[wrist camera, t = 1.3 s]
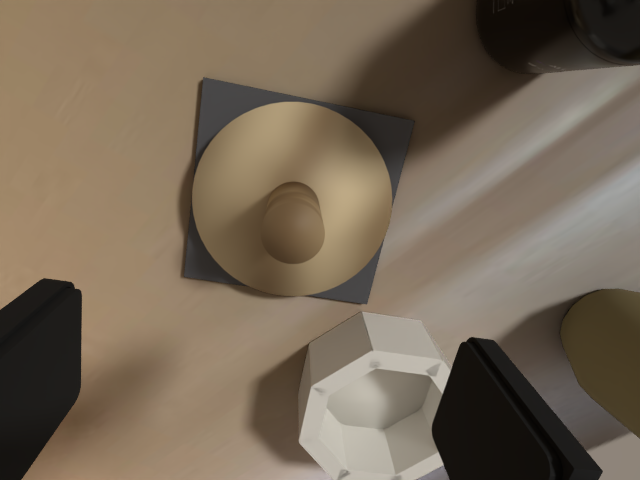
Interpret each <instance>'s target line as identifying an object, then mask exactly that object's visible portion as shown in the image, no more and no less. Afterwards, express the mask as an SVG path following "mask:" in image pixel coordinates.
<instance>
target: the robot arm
mask: <svg viewBox="0 0 640 480" xmlns="http://www.w3.org/2000/svg"><path fill="white" fill-rule="evenodd" d="M81 321H82V294H81V291H80V290H79V289H75V287H74V284H73V283H72V282H68V281H60V280H53V279H45V278H44V279H42V280H40V281H38V282H37V283H36V284H34V285H33V286H32V287H30V288H29V289H28V290H26V291H25V292H24V293H22V294H21V295H20V296H18V297H17V298H16V299H14V300H13V301H12V302H10V303H9V304H8V305H6V306H5V307H4V308H2V309H1V310H0V480H21V479H22V478H23V476H24V475H25V474H26V472H27V471H28V469H29V468H30V466H31V465H32V464H33V462H34V461H35V459H36V458H37V456H38V455H39V453H40V452H41V451H42V449H43V448H44V446H45V445H46V443H47V442H48V441H49V439H50V438H51V436H52V435H53V433H54V432H55V430H56V429H57V428H58V426H59V425H60V423H61V422H62V420H63V419H64V418H65V416H66V415H67V413H68V412H69V410H70V409H71V407H72V406H73V405H74V403H75V401H76V400H77V398H78V395H79V392H80V388H81ZM432 437H433V440H434V443H435V445H436V447H437V450H438V452H439V455H440V457H441V459H442V462H443V464H444V467H445V469H446V471H447V474H448V476H449V479H450V480H598V479H599V478H600V476H601V474H602V472H603V471H602V470H601V469H600V467H599V466H598V465H597V464H596V462H595V461H594V460H593V459H592V458H591V456H590V455H589V454H588V453H587V452H586V450H585V449H584V448H583V447H582V446H581V444H580V443H579V442H578V441H577V440H576V438H575V437H574V436H573V435H572V434H571V432H570V431H569V430H568V429H567V428H566V426H565V425H564V424H563V423H562V421H561V420H560V419H559V418H558V417H557V415H556V414H555V413H554V412H553V411H552V409H551V408H550V407H549V406H548V405H547V403H546V402H545V401H544V400H543V399H542V397H541V396H540V395H539V394H538V393H537V391H536V390H535V389H534V388H533V387H532V385H531V384H530V383H529V382H528V381H527V379H526V378H525V377H524V376H523V374H522V373H521V372H520V371H519V370H518V368H517V367H516V366H515V365H514V364H513V362H512V361H511V360H510V359H509V358H508V356H507V355H506V354H505V353H504V352H503V350H502V349H501V348H500V347H499V346H498V344H497V343H496V342H495V341H494V340H489V339H481V338H474V337H471V338H469V339H468V340H467V341H466V342H462V343H461V344H460V346H459V349H458V352H457V355H456V357H455V360H454V363H453V366H452V369H451V372H450V374H449V377H448V380H447V383H446V386H445V389H444V391H443V394H442V397H441V400H440V403H439V406H438V408H437V411H436V414H435V417H434V420H433V423H432Z"/></svg>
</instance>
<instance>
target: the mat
mask: <svg viewBox="0 0 640 480" xmlns="http://www.w3.org/2000/svg"><path fill="white" fill-rule="evenodd" d="M279 102H304V103H311V104H315V105H318V106H322V107H325V108H328V109H330V110H332V111H335V112H337V113H339V114H341V115H342V116H344V117H346V118H347V119H349V120H350V121H352V122H353V123H354V124H355V125H357V126H358V127H359V128H360V129H361V130H362V131H363V132H364V133H365V134H366V135H367V136H368V137H369V138H370V139H371V141H372V142H373V143H374V145H375V146H376V148H377V149H378V151H379V152H380V154H381V156H382V158H383V160H384V162H385V165H386V168H387V171H388V173H389V178H390V182H391V188H392V206H393V202H394V198H395V195H396V191H397V187H398V183H399V179H400V175H401V172H402V168H403V164H404V160H405V156H406V152H407V149H408V145H409V141H410V137H411V133H412V129H413V125H414V122H415V121H412V120H408V119H403V118H398V117H393V116H388V115H383V114H379V113H374V112H369V111H364V110H359V109H354V108H349V107H345V106H340V105H335V104H330V103H325V102H320V101H316V100H311V99H306V98H301V97H296V96H291V95H286V94H282V93H277V92H272V91H267V90H262V89H257V88H253V87H248V86H243V85H238V84H233V83H228V82H223V81H219V80H214V79H209V78H204V77H203V86H202V97H201V107H200V117H199V128H198V138H197V148H196V159H195V169H194V177H195V173H196V170H197V167H198V164H199V162H200V160H201V158H202V155H203V153H204V151H205V150H206V148H207V147H208V145H209V144H210V142H211V141H212V140H213V139H214V137H215V136H216V135H217V134H218V133H219V132H220V131H221V130H222V129H223V128H224V127H225V126H226V125H228V124H229V123H230V122H231V121H233V120H234V119H236V118H237V117H239V116H241V115H242V114H244V113H246V112H249V111H251V110H253V109H255V108H258V107H261V106H265V105H268V104H272V103H279ZM193 183H194V179H193ZM383 241H384V239H383ZM383 241H382V243H381V245H380V247H379V249H378V250H377V252H376V253H375V255H374V256H373V258H372V259H371V260H370V261H369V262H368V263H367V265H366V266H365V267H364V268H363V269H361V270H360V271H359V272H358V273H357V274H356V275H354V276H353V277H352V278H350V279H349V280H347V281H346V282H344V283H342V284H340V285H338V286H337V287H334V288H332V289H329V290H327V291H323V292H320V293H316V294H311V295H308V296H315V297H322V298H328V299H335V300H342V301H348V302H355V303H361V304H367V302H368V298H369V294H370V291H371V287H372V283H373V279H374V275H375V271H376V268H377V264H378V260H379V256H380V252H381V248H382V245H383ZM184 277H189V278H196V279H202V280H209V281H216V282H222V283H229V284H236V285H242V286H248V285H245V284H243V283H242V282H240V281H239V280H237V279H235V278H234V277H232V276H231V275H230V274H229V273H227V272H226V271H225V270H224V269H223V268H222V267H221V266H220V265H219V264H218V263H217V262H216V261H215V260H214V258H213V257H212V256H211V254H210V253H209V252H208V250H207V249H206V247H205V245H204V243H203V241H202V240H201V237H200V235H199V232H198V230H197V227H196V223H195V219H194V215H193V206H192V200H191V210H190V221H189V231H188V241H187V252H186V262H185V272H184ZM249 287H250V286H249Z"/></svg>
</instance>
